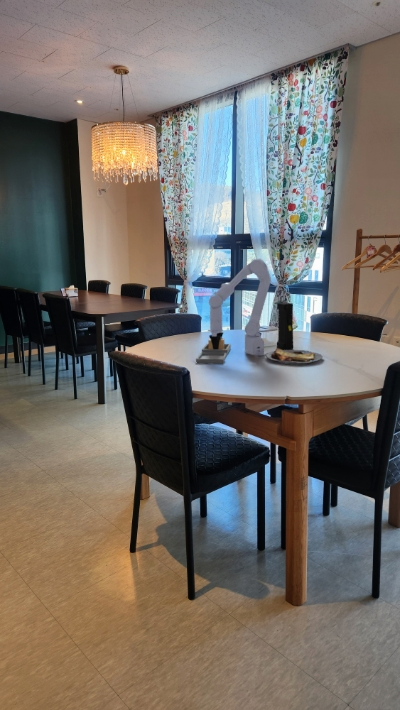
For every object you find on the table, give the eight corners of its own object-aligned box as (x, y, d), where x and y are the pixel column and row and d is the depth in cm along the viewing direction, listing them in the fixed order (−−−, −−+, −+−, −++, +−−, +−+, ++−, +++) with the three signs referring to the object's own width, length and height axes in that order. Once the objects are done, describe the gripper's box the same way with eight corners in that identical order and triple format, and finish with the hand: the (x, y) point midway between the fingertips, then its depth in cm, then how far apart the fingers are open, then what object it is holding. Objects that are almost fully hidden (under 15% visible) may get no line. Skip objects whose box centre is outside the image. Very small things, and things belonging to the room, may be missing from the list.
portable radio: (295, 349, 232) (296, 298, 227) (284, 351, 230) (285, 299, 225) (286, 347, 239) (287, 297, 234) (276, 348, 237) (276, 297, 232)
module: (210, 350, 231) (210, 337, 230) (224, 350, 230) (224, 337, 229) (208, 352, 227) (208, 338, 225) (223, 352, 225) (223, 339, 224)
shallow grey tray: (201, 356, 223) (201, 351, 222) (227, 356, 221) (227, 352, 220) (195, 363, 209) (195, 359, 208) (223, 364, 206) (223, 359, 206)
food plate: (257, 362, 208) (257, 354, 207) (275, 352, 228) (275, 345, 227) (314, 369, 196) (314, 360, 196) (327, 358, 217) (328, 350, 216)
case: (206, 350, 236) (206, 343, 236) (230, 350, 234) (230, 344, 234) (201, 356, 223) (201, 349, 222) (227, 356, 221) (227, 349, 220)
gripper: (210, 318, 233) (210, 345, 236) (205, 322, 219) (205, 351, 222) (224, 318, 232) (224, 345, 235) (220, 322, 218) (220, 351, 221)
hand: (216, 348), depth 228 cm, fingers closed on module, 5 cm apart
